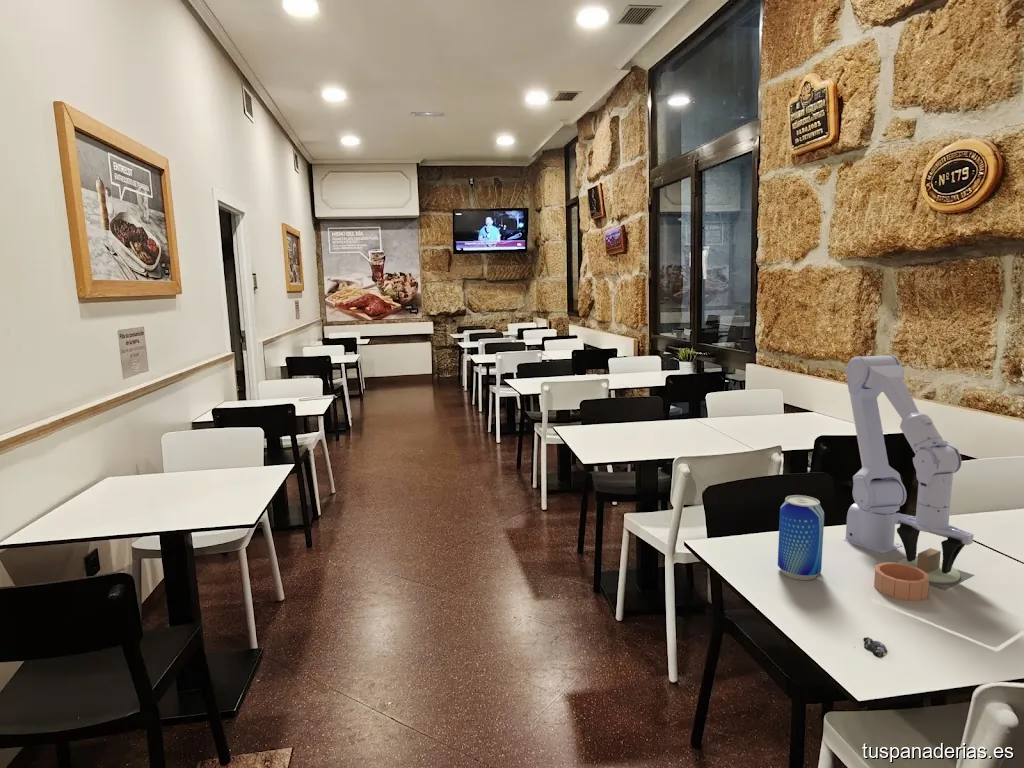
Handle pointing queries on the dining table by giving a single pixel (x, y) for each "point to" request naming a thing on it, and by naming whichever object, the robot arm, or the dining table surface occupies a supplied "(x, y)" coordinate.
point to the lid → (933, 567)
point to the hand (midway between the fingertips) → (928, 566)
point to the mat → (946, 586)
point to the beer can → (800, 537)
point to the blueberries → (875, 647)
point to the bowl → (901, 581)
